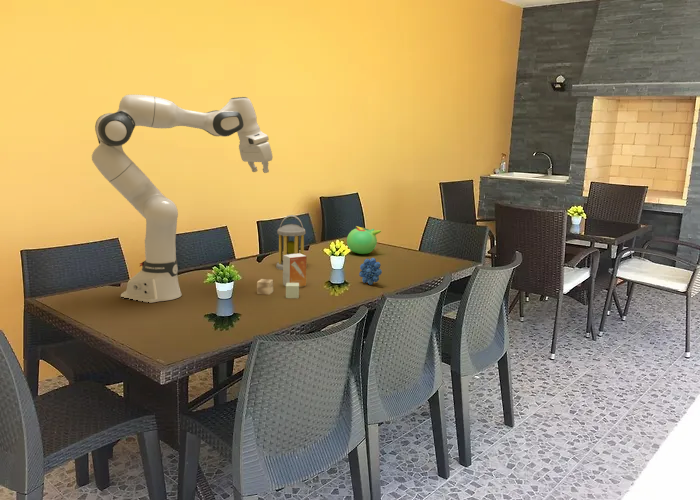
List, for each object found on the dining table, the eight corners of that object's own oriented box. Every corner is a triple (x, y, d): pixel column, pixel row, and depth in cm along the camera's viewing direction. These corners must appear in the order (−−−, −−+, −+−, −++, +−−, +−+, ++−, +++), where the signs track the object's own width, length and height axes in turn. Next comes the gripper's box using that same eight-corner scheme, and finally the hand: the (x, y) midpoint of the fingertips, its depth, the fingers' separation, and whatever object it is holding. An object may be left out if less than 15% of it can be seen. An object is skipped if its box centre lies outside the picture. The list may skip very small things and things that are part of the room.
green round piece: (343, 250, 317) (343, 224, 314) (372, 249, 321) (373, 223, 318) (351, 257, 299) (351, 229, 296) (382, 256, 304) (383, 229, 301)
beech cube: (257, 294, 230) (256, 281, 229) (261, 290, 235) (261, 278, 234) (269, 295, 229) (268, 282, 228) (273, 291, 234) (273, 279, 233)
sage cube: (285, 298, 225) (285, 286, 224) (286, 294, 230) (286, 282, 229) (298, 298, 226) (298, 286, 225) (298, 294, 230) (299, 282, 229)
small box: (289, 288, 239) (289, 257, 237) (282, 284, 244) (282, 254, 242) (306, 285, 244) (306, 255, 241) (299, 282, 249) (299, 252, 246)
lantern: (306, 263, 283) (307, 213, 278) (305, 270, 269) (306, 217, 264) (277, 263, 283) (277, 212, 277) (274, 270, 269) (274, 217, 264)
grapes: (386, 285, 248) (388, 258, 245) (377, 288, 242) (378, 260, 240) (365, 280, 255) (366, 253, 252) (355, 283, 250) (356, 256, 247)
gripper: (232, 140, 233) (242, 173, 237) (256, 140, 216) (266, 175, 221) (245, 136, 236) (255, 168, 240) (270, 135, 220) (279, 170, 224)
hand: (260, 172), depth 231 cm, fingers open, 8 cm apart
